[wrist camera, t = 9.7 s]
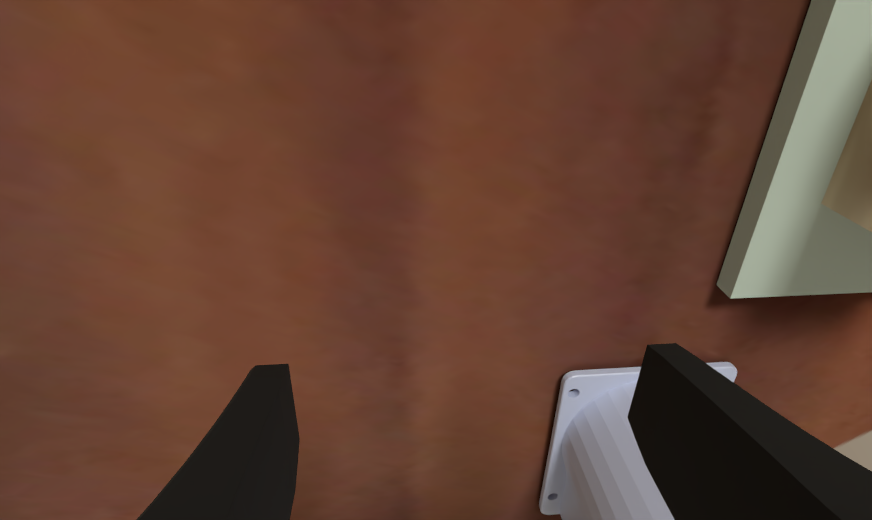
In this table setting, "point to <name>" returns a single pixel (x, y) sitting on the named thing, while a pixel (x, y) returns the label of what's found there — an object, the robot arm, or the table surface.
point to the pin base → (807, 169)
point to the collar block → (855, 171)
